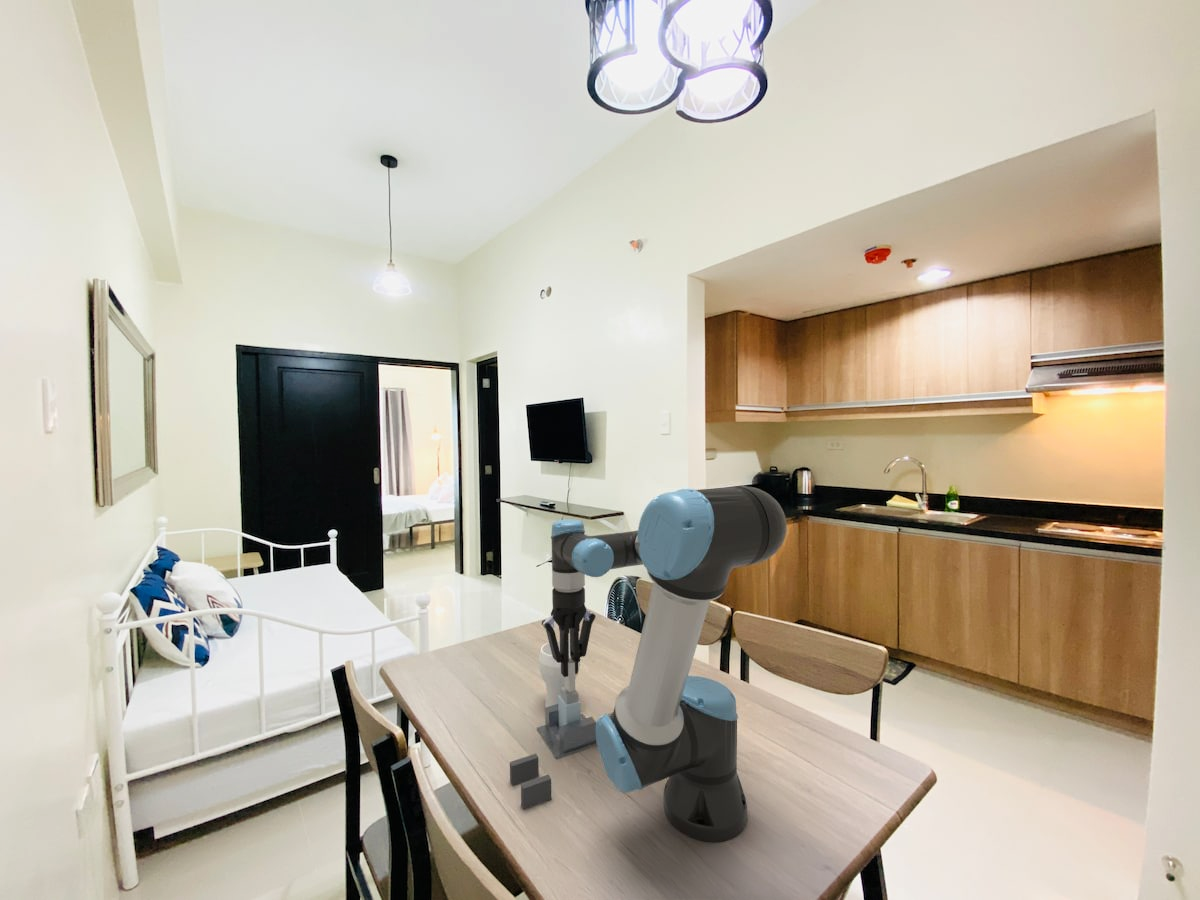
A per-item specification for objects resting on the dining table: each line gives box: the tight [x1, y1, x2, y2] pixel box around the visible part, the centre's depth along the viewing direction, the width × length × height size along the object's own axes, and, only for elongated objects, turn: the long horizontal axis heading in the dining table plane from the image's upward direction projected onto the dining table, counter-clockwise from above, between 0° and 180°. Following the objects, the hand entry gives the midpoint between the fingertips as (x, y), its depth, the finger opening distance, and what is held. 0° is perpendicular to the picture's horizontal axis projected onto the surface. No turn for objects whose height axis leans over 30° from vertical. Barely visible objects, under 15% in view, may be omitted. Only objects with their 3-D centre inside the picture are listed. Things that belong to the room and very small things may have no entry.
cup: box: [538, 639, 581, 709], centre depth 124 cm, size 11×11×15 cm
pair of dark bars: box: [509, 753, 553, 811], centre depth 94 cm, size 8×6×4 cm, turn 28°
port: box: [536, 704, 598, 760], centre depth 111 cm, size 12×12×5 cm
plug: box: [558, 687, 582, 727], centre depth 112 cm, size 5×4×10 cm
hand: (569, 688), depth 111 cm, fingers closed
